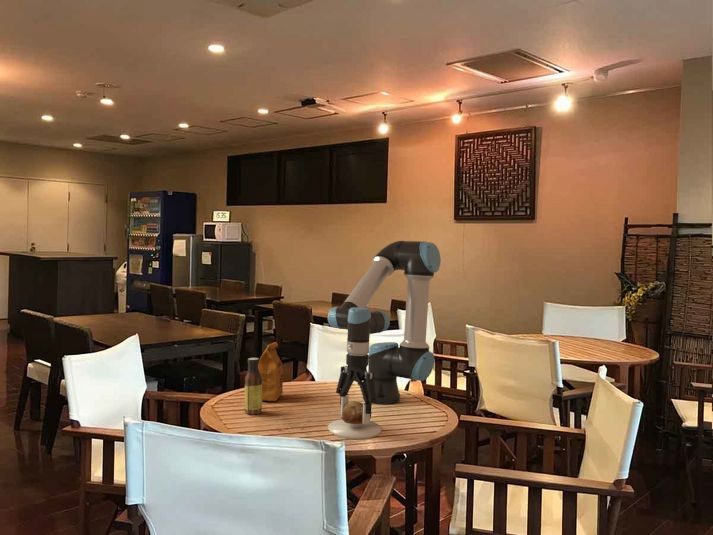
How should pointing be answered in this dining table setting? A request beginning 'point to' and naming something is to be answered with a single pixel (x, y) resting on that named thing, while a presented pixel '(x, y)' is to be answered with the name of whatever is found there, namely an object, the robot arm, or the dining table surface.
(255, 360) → the sauce bottle
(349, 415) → the bread roll
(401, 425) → the dining table surface
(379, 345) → the robot arm
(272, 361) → the coffee package
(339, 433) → the plate
